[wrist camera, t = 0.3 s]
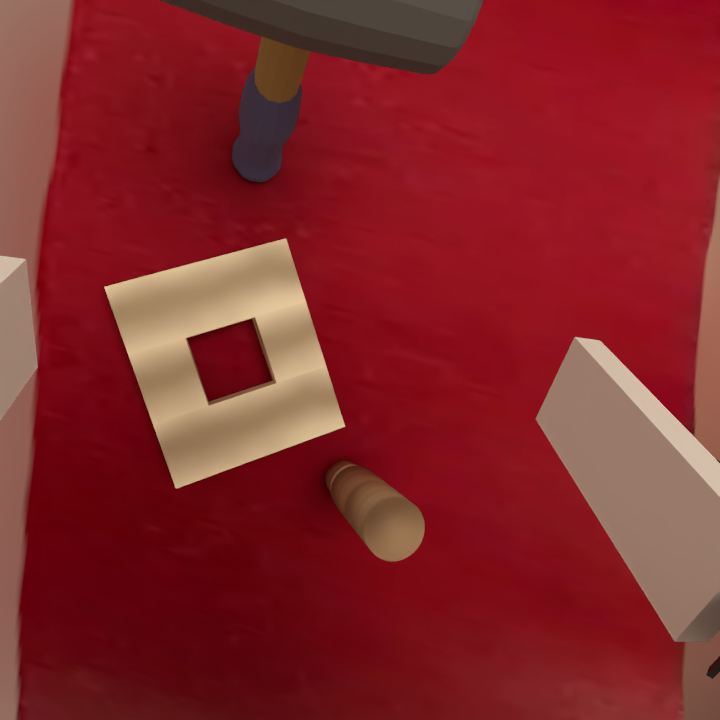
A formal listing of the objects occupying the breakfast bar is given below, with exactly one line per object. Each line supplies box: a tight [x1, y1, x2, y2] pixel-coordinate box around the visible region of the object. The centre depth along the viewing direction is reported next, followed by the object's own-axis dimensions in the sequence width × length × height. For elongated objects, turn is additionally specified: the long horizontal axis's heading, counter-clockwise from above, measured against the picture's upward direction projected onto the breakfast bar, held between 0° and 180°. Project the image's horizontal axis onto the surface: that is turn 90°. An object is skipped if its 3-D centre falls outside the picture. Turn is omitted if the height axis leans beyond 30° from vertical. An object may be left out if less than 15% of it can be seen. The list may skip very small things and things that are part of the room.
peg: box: [325, 460, 425, 561], centre depth 41 cm, size 4×4×14 cm
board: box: [104, 239, 345, 489], centre depth 44 cm, size 16×14×3 cm
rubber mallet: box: [160, 0, 483, 183], centre depth 31 cm, size 12×8×30 cm, turn 83°
